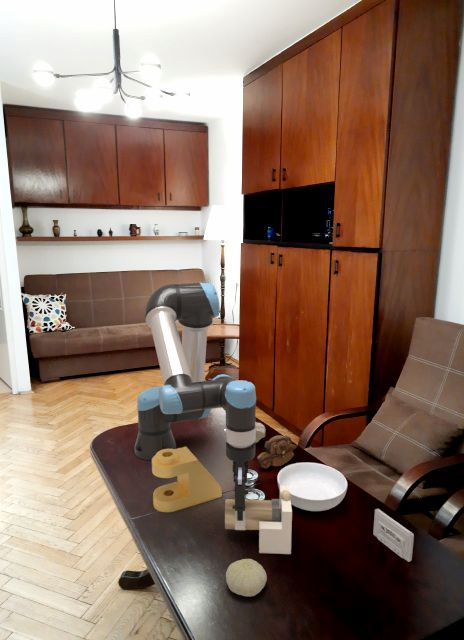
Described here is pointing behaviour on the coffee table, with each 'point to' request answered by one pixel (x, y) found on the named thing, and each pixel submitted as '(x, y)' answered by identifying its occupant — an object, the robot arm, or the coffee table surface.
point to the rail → (253, 513)
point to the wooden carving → (277, 451)
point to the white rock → (259, 431)
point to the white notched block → (278, 528)
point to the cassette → (393, 535)
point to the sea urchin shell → (246, 577)
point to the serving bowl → (313, 485)
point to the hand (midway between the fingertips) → (240, 523)
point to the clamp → (182, 480)
